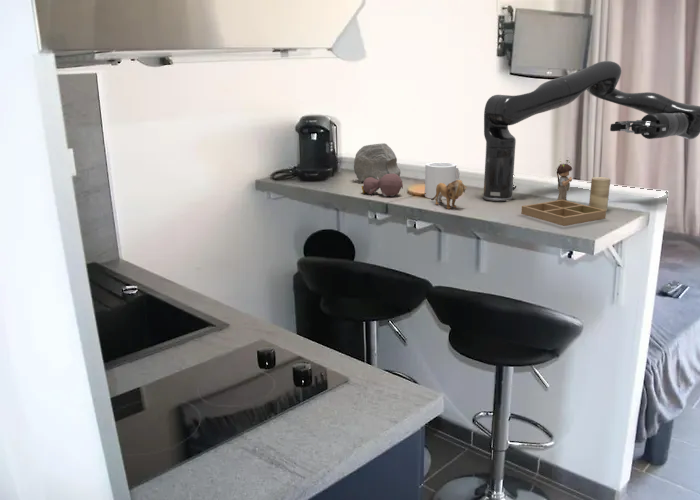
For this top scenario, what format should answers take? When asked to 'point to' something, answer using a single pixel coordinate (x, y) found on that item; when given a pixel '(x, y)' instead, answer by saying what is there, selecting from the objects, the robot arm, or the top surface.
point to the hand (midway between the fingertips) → (623, 129)
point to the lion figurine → (449, 192)
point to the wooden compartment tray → (563, 212)
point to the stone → (375, 162)
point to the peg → (599, 192)
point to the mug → (439, 176)
